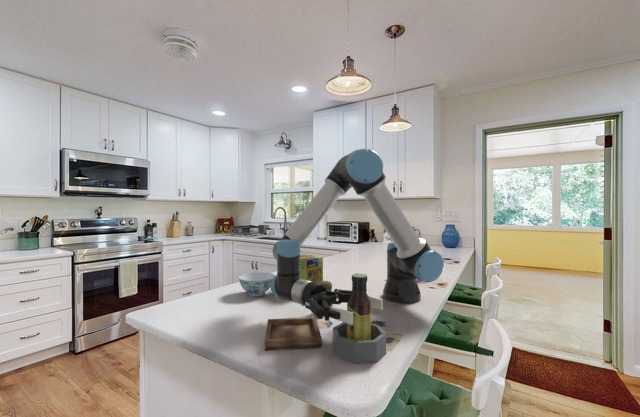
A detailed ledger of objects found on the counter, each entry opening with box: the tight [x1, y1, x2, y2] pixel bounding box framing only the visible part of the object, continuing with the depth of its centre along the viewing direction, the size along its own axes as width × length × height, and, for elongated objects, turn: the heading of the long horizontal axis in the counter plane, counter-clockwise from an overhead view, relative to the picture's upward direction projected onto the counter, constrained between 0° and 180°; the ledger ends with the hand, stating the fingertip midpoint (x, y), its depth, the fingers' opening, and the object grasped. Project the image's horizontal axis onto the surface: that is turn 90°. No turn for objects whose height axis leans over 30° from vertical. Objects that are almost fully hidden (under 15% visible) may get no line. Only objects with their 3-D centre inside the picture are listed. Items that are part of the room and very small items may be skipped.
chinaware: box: [238, 271, 276, 297], centre depth 125 cm, size 15×15×8 cm
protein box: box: [300, 253, 324, 283], centre depth 129 cm, size 10×15×16 cm
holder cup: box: [332, 321, 387, 365], centre depth 76 cm, size 13×13×5 cm
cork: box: [319, 280, 333, 309], centre depth 103 cm, size 6×6×11 cm
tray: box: [264, 316, 323, 352], centre depth 84 cm, size 15×15×2 cm
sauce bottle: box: [346, 273, 372, 341], centre depth 76 cm, size 6×6×20 cm
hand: (368, 311), depth 74 cm, fingers open, 13 cm apart
